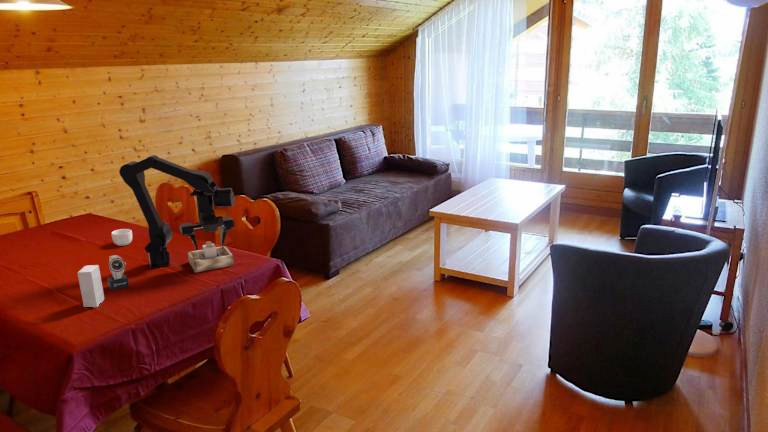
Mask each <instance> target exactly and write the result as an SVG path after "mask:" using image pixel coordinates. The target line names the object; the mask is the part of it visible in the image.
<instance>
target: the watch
mask: <svg viewBox="0 0 768 432" xmlns="http://www.w3.org/2000/svg"><path fill="white" fill-rule="evenodd" d="M108 258H109V260H108V261H109V262H108V267H109V270H110V273H111V275H112V276H110V277H107V278H106V279H107V280H106V281H107V284H108V285H107V286H108V288H109V289H110V291H112V290H113V291H116V290H120V289H125V288H129V287H130V285H129V278H128V277H127V275H126V274H124V272H125V267H126V265H127V263H126V262H125V261H124V260H123V259H122V257H121V256H119V255H118V254H115V255H109V256H108Z"/></svg>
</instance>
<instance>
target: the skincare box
mask: <svg viewBox="0 0 768 432" xmlns="http://www.w3.org/2000/svg"><path fill="white" fill-rule="evenodd" d="M77 277H78V278H77V279H78V282H79V283H78V284H79V288H80V294H81V299H82V304H83V305H82V306H83V308H84V307H93V308H99V306H100V305H101V304H102V303H103V301H104V300H105V294H104V288H103V283H102V277H101V271H100V266H99V264H93V265H91V264H90V265H84V266H83V267H82V268H81V269H80V270H79V271H78V272H77ZM100 303H101V304H100ZM99 304H100V305H99Z"/></svg>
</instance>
